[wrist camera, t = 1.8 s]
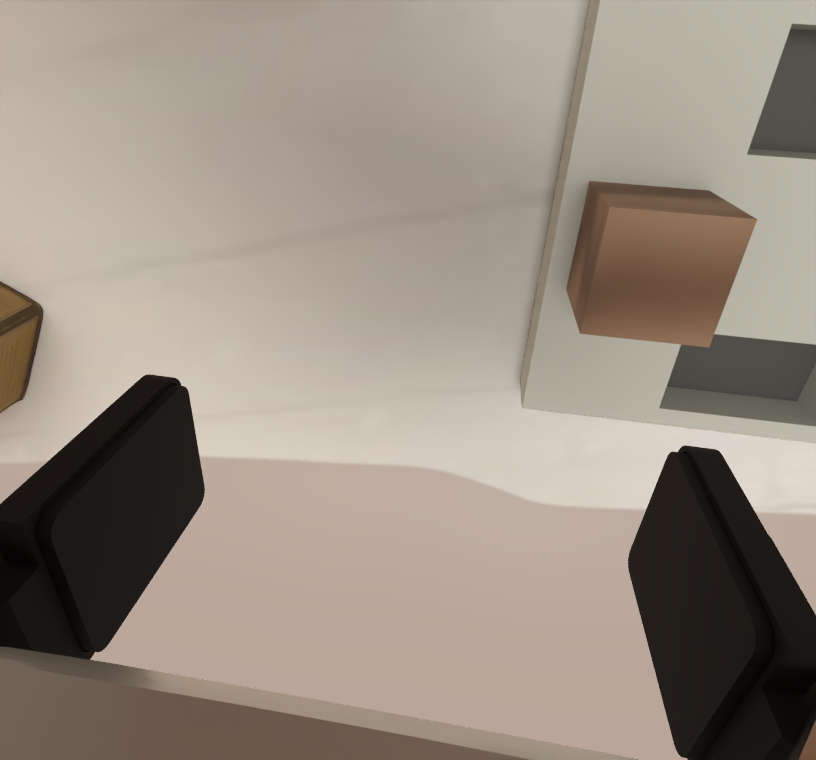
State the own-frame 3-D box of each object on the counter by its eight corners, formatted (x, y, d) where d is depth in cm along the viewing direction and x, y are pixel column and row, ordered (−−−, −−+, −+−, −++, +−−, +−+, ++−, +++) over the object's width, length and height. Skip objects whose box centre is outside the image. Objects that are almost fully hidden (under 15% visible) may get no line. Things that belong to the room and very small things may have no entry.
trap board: (591, -10, 23) (608, -23, 19) (1182, 18, 21) (1319, 9, 17) (520, 380, 32) (522, 418, 29) (917, 426, 30) (970, 472, 27)
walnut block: (589, 180, 24) (609, 207, 19) (709, 190, 23) (757, 219, 19) (566, 289, 26) (579, 333, 22) (673, 300, 26) (709, 347, 21)
